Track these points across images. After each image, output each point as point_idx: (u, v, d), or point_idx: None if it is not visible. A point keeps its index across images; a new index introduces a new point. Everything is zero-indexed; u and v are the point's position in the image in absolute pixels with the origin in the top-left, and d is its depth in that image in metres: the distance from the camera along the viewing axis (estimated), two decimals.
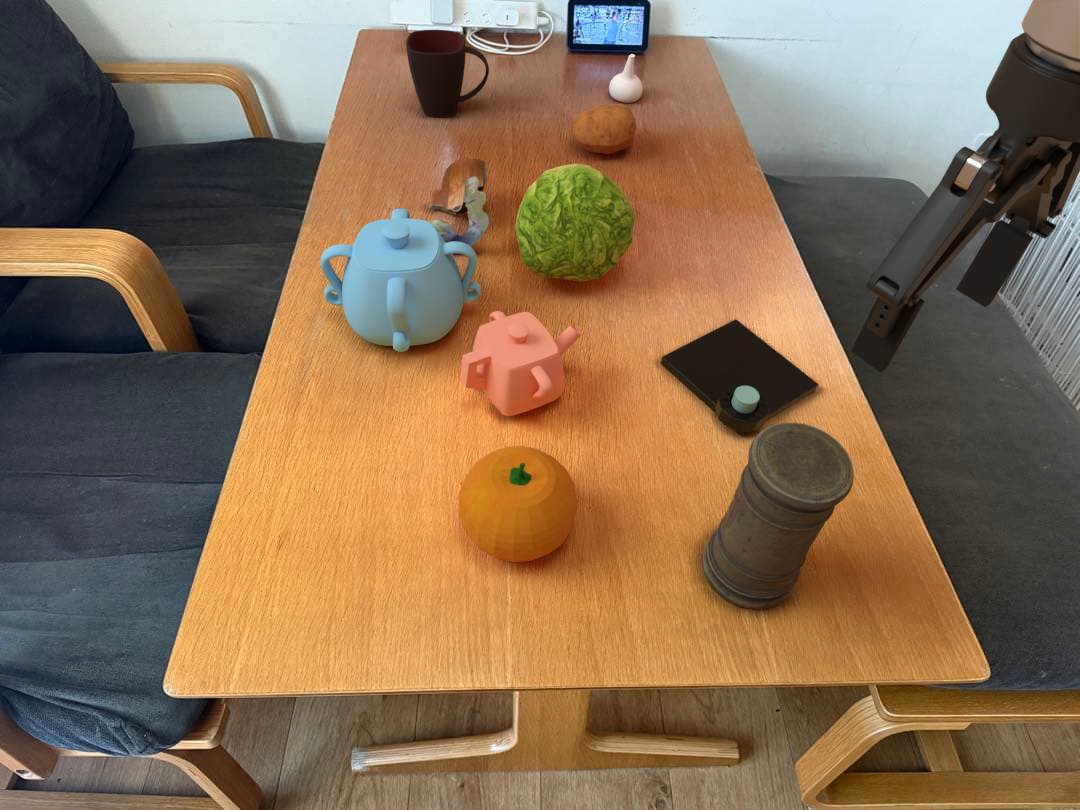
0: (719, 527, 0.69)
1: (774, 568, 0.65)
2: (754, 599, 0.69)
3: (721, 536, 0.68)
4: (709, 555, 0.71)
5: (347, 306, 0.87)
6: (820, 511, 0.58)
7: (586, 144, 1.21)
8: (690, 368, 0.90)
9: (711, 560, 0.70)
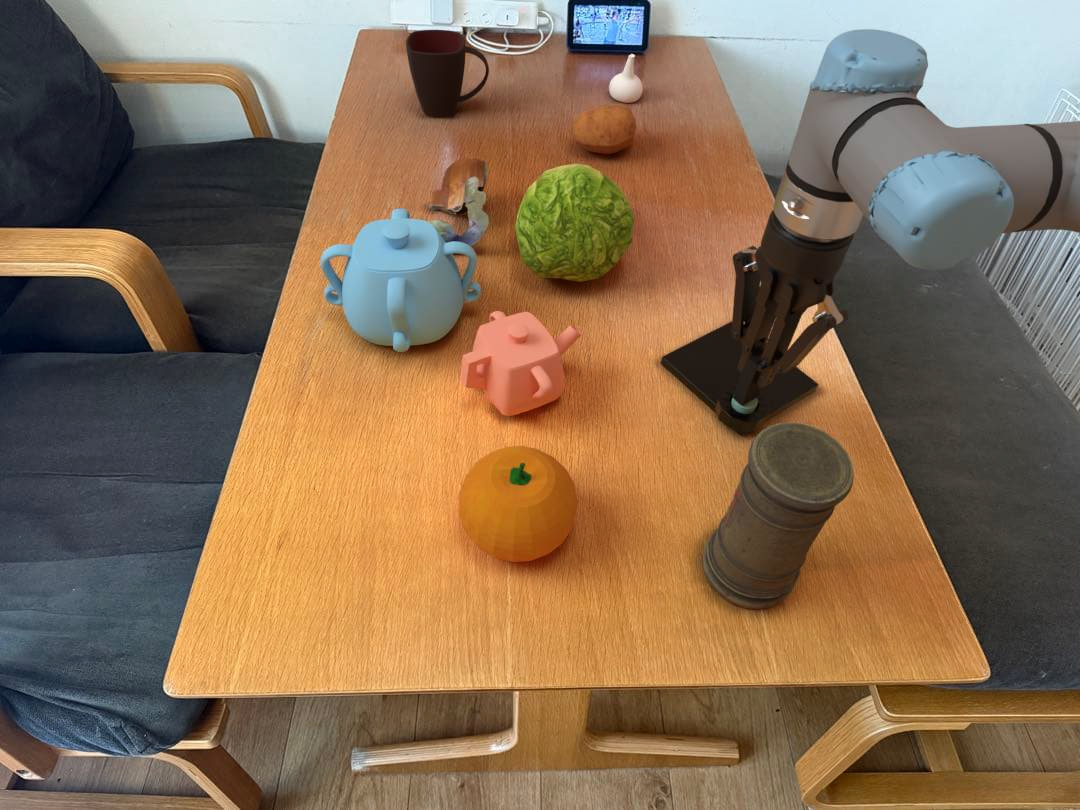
0: (719, 527, 0.69)
1: (774, 568, 0.65)
2: (754, 599, 0.69)
3: (721, 536, 0.68)
4: (709, 555, 0.71)
5: (347, 306, 0.87)
6: (820, 511, 0.58)
7: (586, 144, 1.21)
8: (690, 368, 0.90)
9: (711, 560, 0.70)
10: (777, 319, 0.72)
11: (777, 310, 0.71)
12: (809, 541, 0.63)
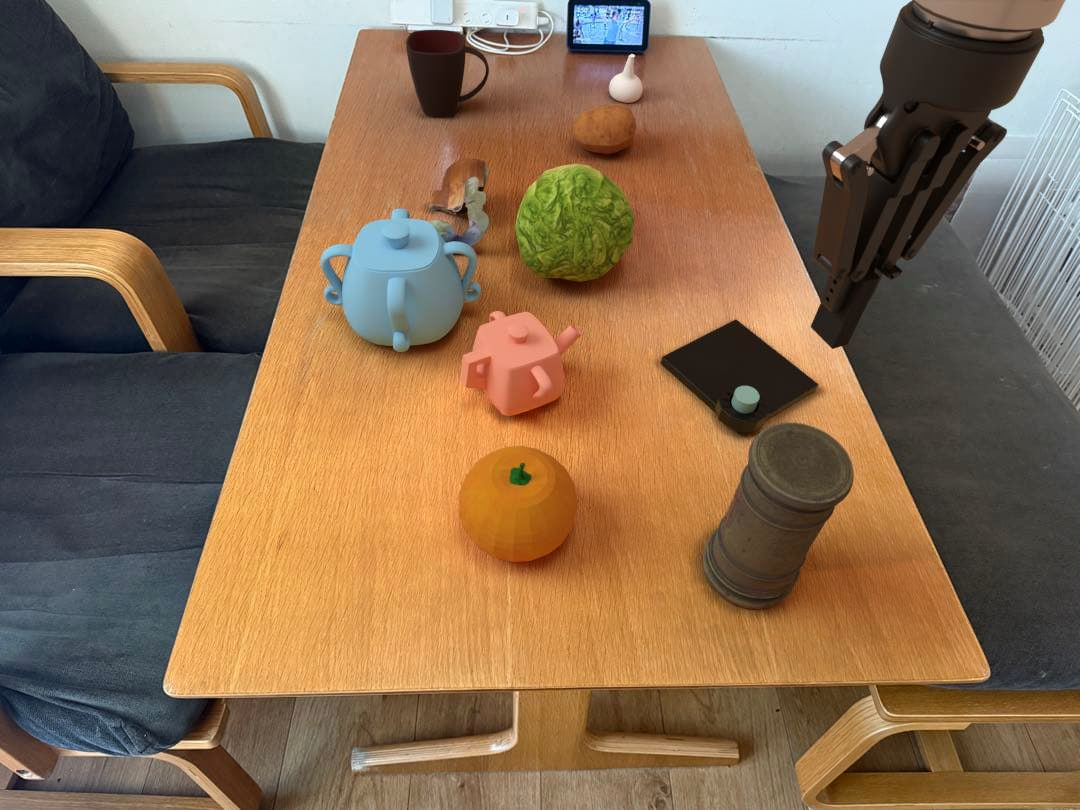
0: (719, 527, 0.69)
1: (774, 568, 0.65)
2: (754, 599, 0.69)
3: (721, 536, 0.68)
4: (709, 555, 0.71)
5: (347, 306, 0.87)
6: (820, 511, 0.58)
7: (586, 144, 1.21)
8: (690, 368, 0.90)
9: (711, 560, 0.70)
10: (920, 194, 0.47)
11: (933, 180, 0.46)
12: (809, 541, 0.63)
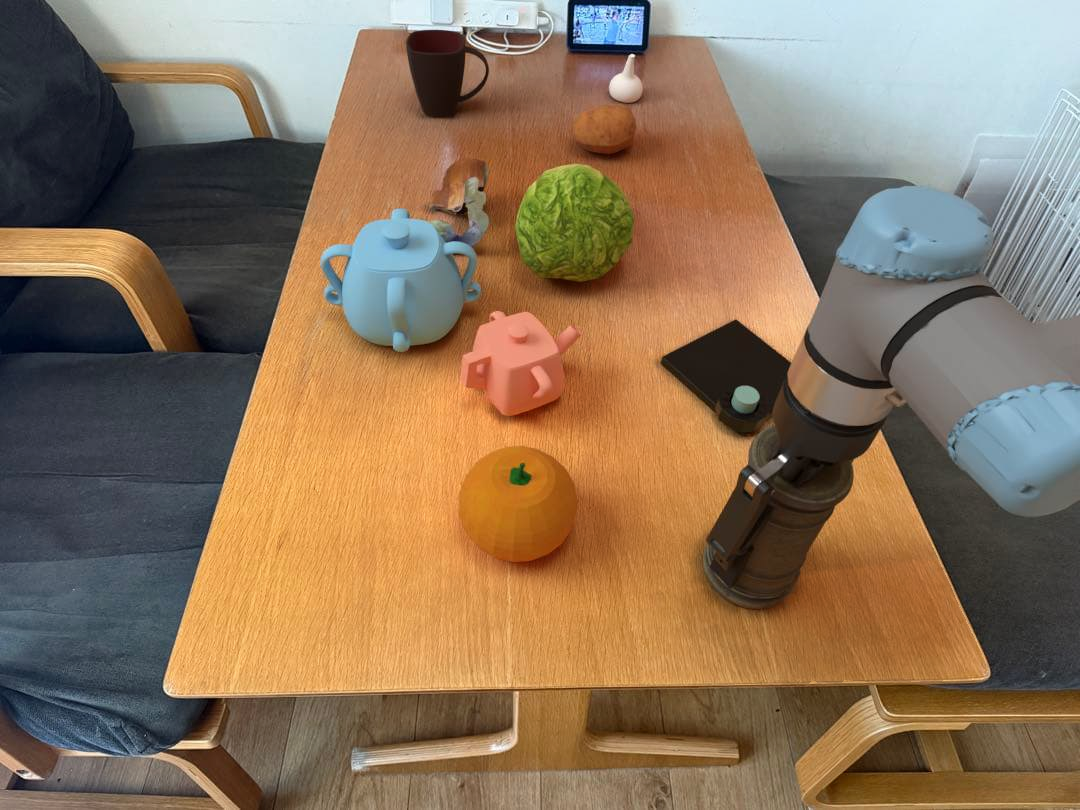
0: None
1: (774, 568, 0.65)
2: (754, 599, 0.69)
3: None
4: (709, 555, 0.71)
5: (347, 306, 0.87)
6: (820, 511, 0.58)
7: (586, 144, 1.21)
8: (690, 368, 0.90)
9: (711, 560, 0.70)
10: None
11: None
12: (809, 541, 0.63)
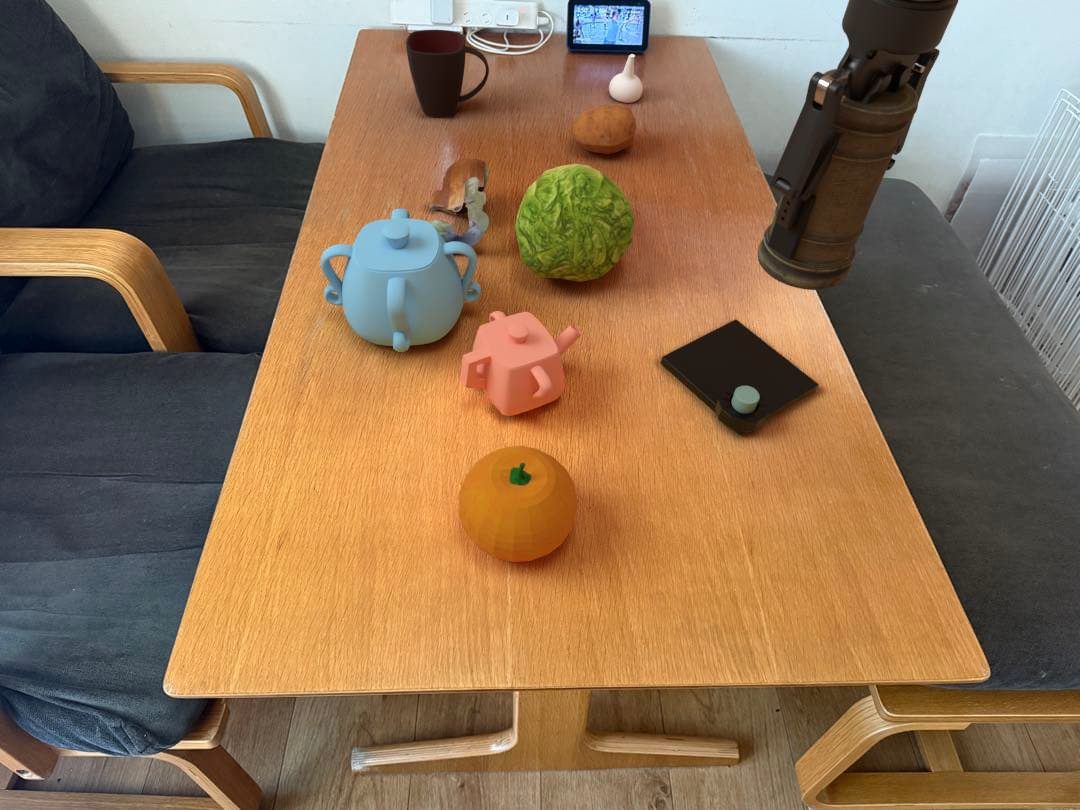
0: (777, 207, 0.71)
1: (834, 225, 0.66)
2: (811, 276, 0.70)
3: None
4: (766, 241, 0.72)
5: (347, 306, 0.87)
6: (886, 131, 0.60)
7: (586, 144, 1.21)
8: (690, 368, 0.90)
9: None
10: None
11: None
12: (871, 187, 0.64)
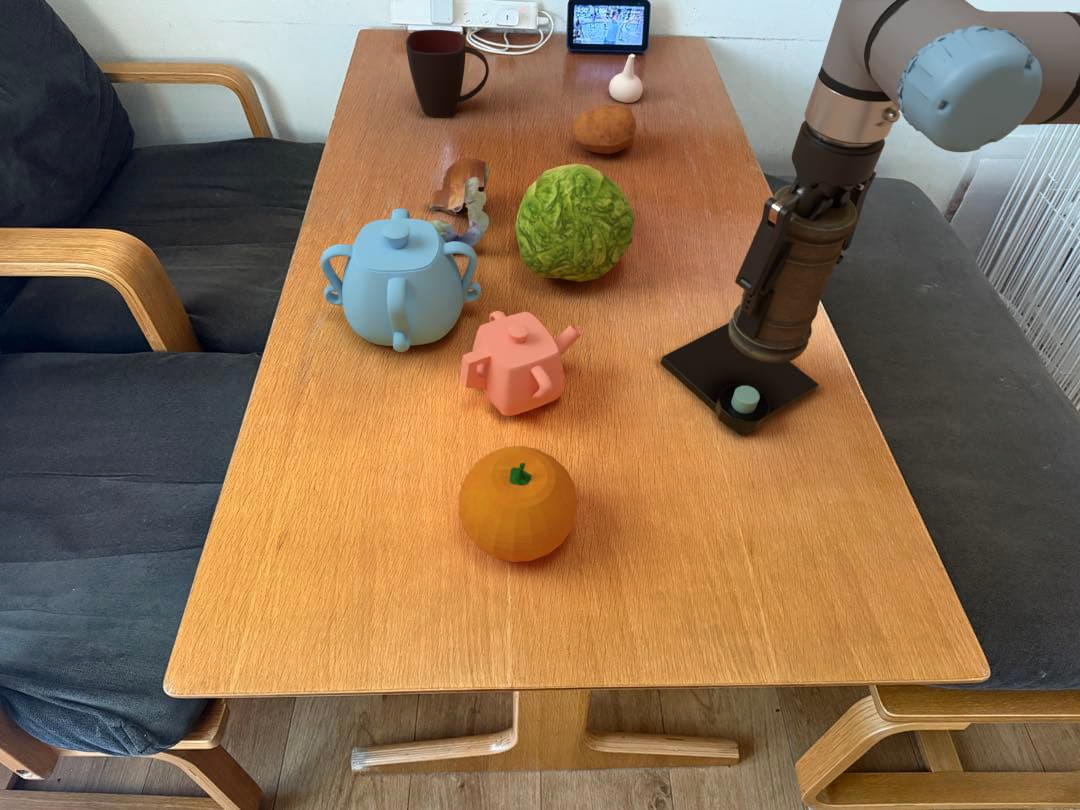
0: (743, 293, 0.82)
1: (790, 313, 0.78)
2: (773, 352, 0.82)
3: None
4: (735, 320, 0.84)
5: (347, 306, 0.87)
6: (829, 243, 0.71)
7: (586, 144, 1.21)
8: (690, 368, 0.90)
9: None
10: None
11: None
12: (820, 283, 0.76)
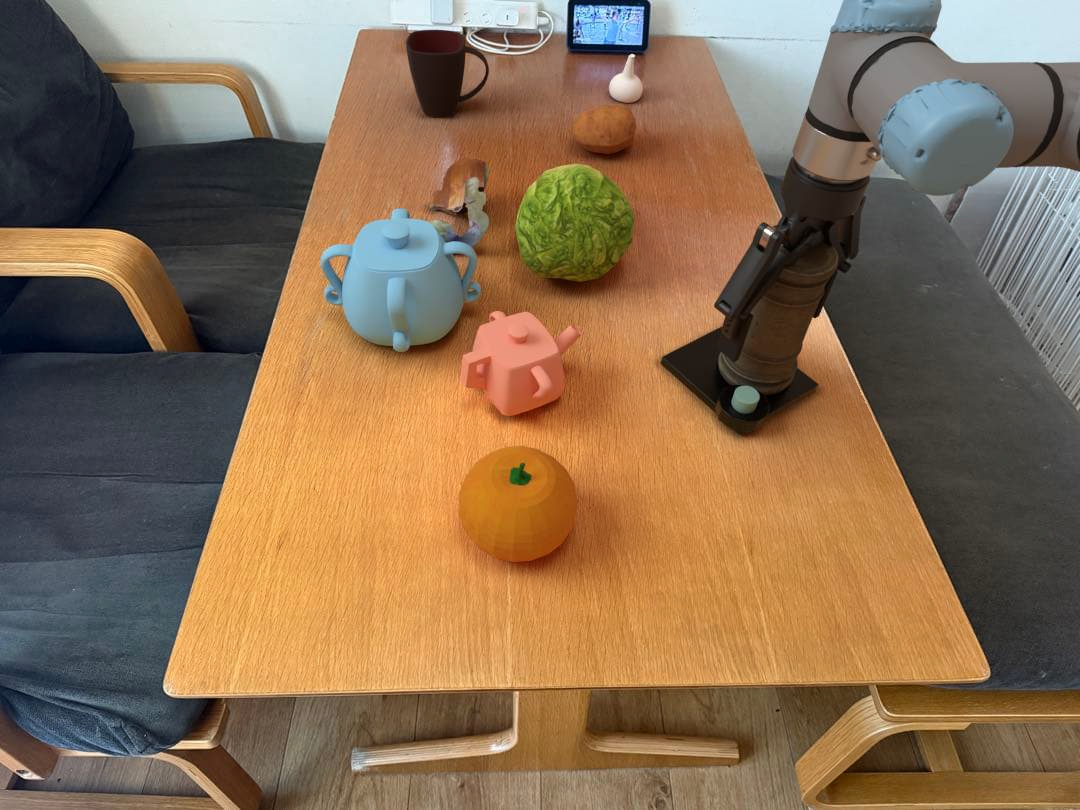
0: None
1: (776, 349, 0.82)
2: (760, 385, 0.86)
3: None
4: None
5: (347, 306, 0.87)
6: (812, 286, 0.75)
7: (586, 144, 1.21)
8: (690, 368, 0.90)
9: (725, 357, 0.87)
10: None
11: (832, 243, 0.76)
12: (804, 322, 0.80)
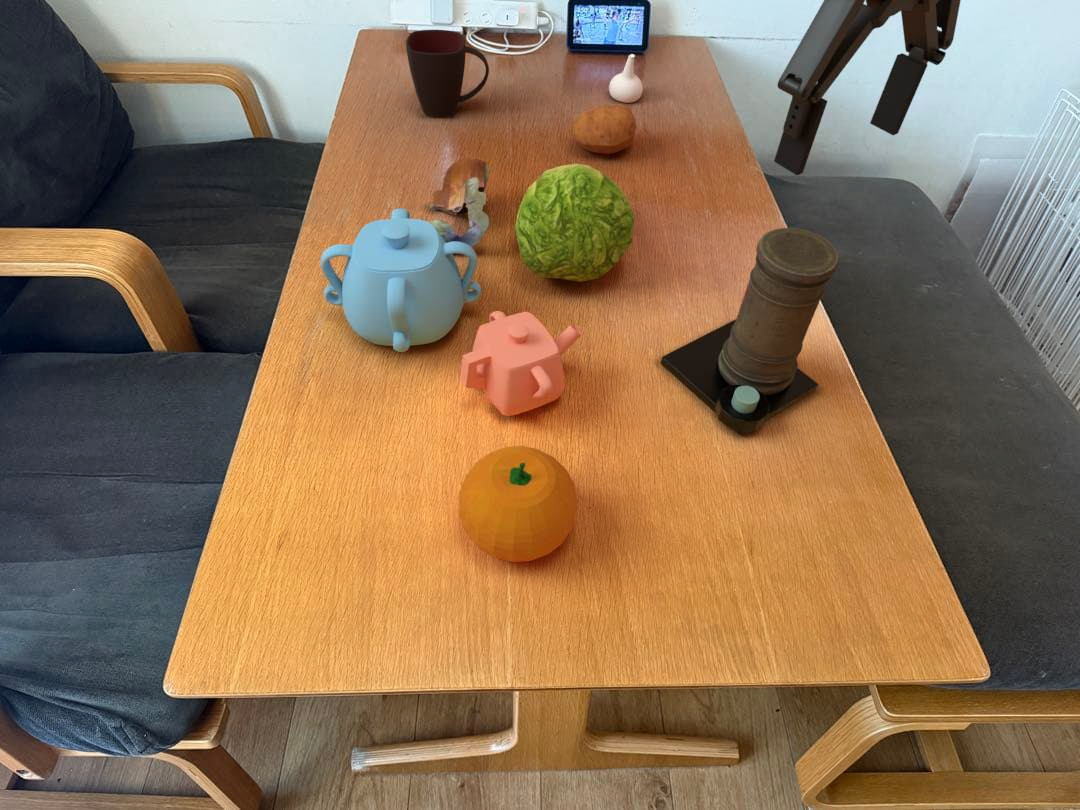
0: (732, 328, 0.86)
1: (776, 349, 0.82)
2: (760, 385, 0.86)
3: (733, 333, 0.85)
4: (724, 354, 0.88)
5: (347, 306, 0.87)
6: (812, 286, 0.75)
7: (586, 144, 1.21)
8: (690, 368, 0.90)
9: (725, 357, 0.87)
10: (926, 13, 0.60)
11: (930, 4, 0.59)
12: (804, 322, 0.80)
